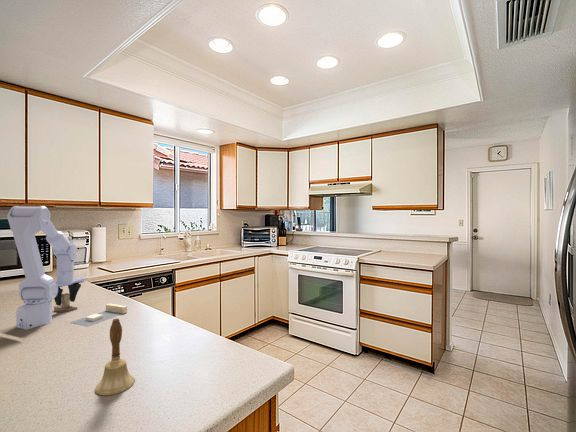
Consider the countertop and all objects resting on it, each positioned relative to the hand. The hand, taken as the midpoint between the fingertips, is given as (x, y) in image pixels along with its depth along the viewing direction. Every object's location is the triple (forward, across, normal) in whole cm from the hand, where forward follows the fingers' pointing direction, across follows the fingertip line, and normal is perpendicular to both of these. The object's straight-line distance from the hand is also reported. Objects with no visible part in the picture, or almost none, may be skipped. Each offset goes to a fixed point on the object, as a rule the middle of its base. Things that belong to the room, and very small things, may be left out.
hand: (65, 303), depth 124 cm
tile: (+2, +4, +23) cm, 23 cm away
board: (+3, +2, +23) cm, 23 cm away
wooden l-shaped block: (+4, 0, 0) cm, 4 cm away
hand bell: (+4, +31, +68) cm, 75 cm away
